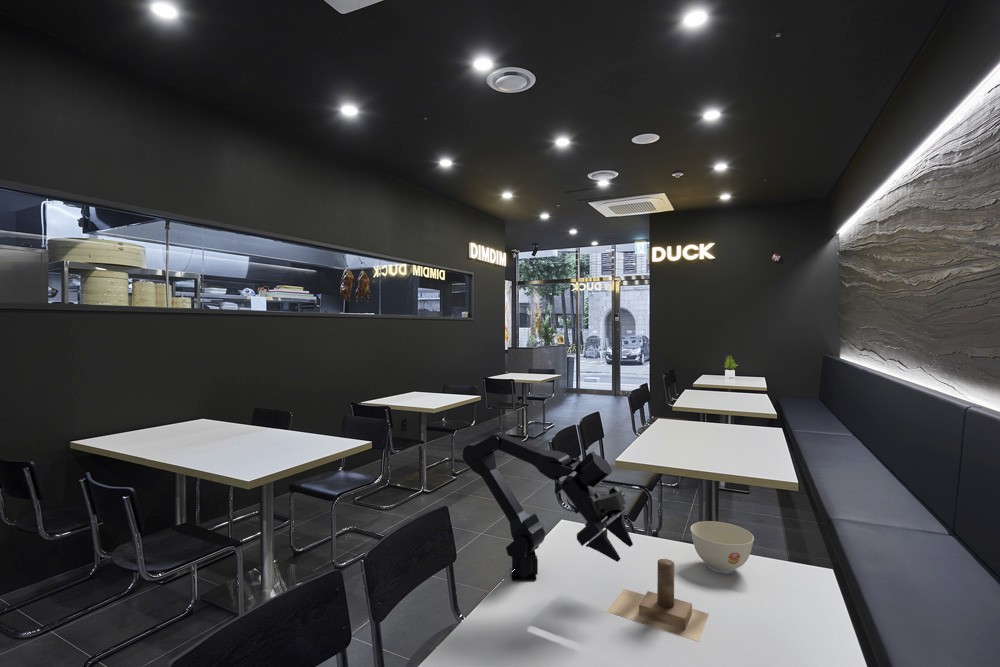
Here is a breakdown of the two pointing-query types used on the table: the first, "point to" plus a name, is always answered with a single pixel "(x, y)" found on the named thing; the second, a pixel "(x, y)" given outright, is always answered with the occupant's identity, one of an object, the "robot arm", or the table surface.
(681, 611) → the block
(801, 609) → the table surface
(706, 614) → the oak board
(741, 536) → the bowl
